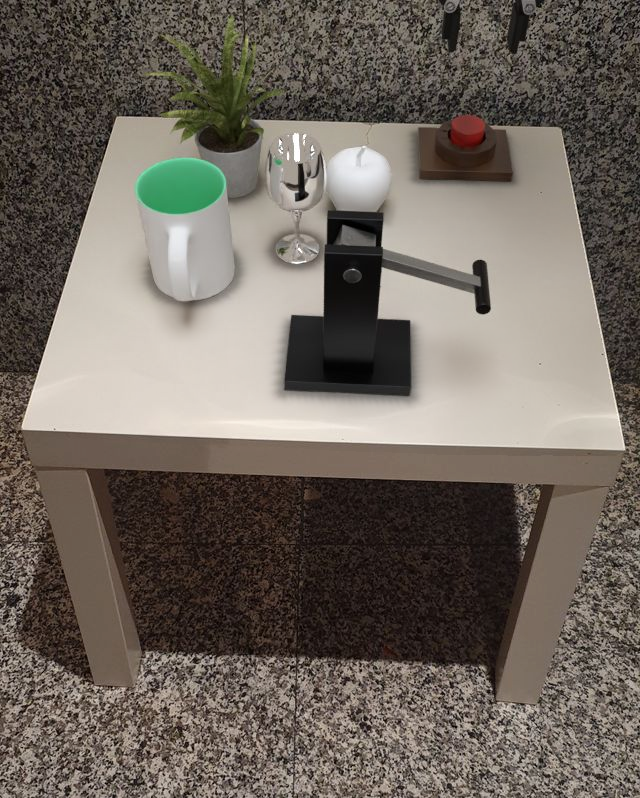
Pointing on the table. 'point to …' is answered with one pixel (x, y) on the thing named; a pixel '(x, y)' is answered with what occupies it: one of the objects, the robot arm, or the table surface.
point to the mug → (186, 227)
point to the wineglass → (296, 189)
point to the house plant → (222, 115)
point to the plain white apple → (358, 179)
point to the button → (467, 130)
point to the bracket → (350, 323)
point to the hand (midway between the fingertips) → (481, 44)
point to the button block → (463, 156)
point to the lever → (426, 268)
